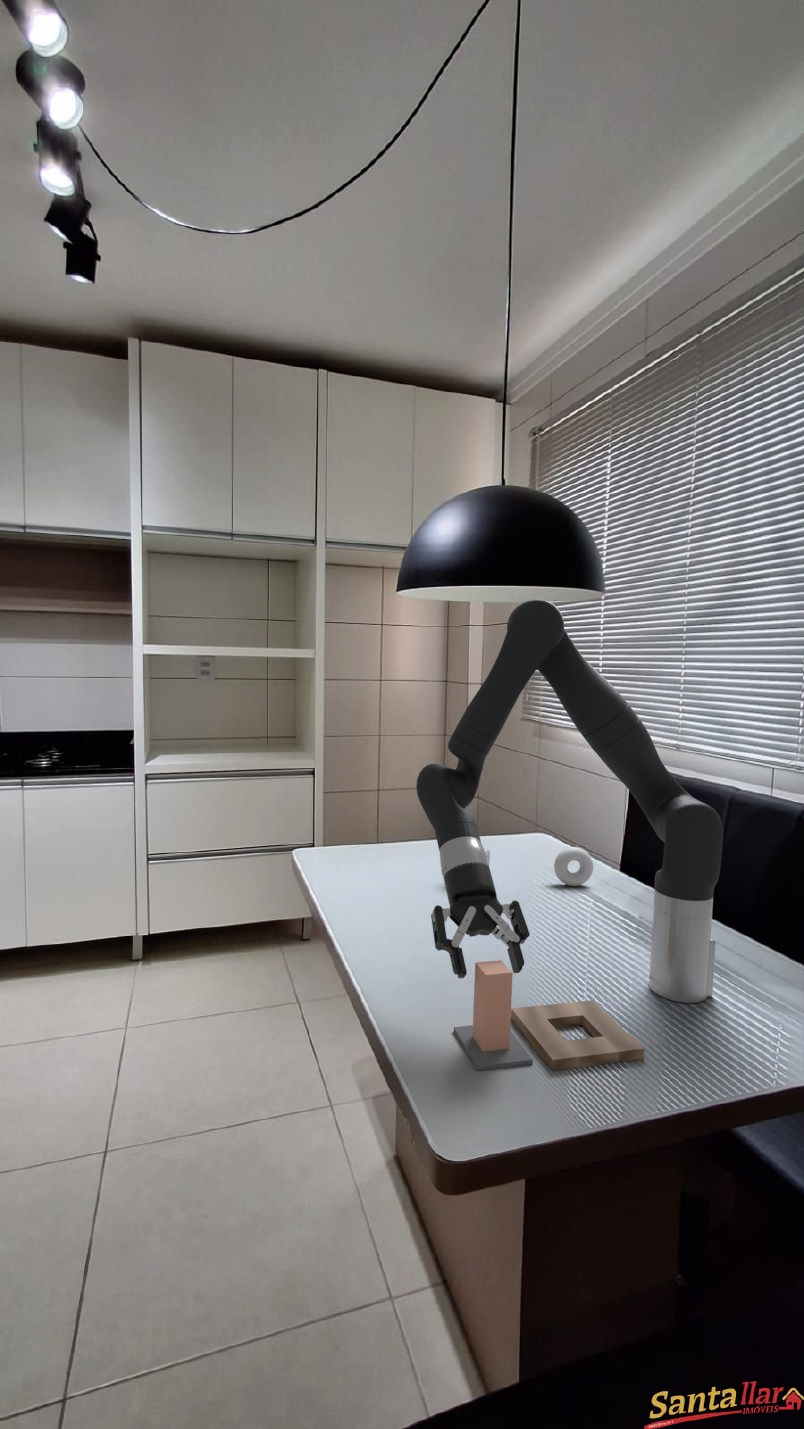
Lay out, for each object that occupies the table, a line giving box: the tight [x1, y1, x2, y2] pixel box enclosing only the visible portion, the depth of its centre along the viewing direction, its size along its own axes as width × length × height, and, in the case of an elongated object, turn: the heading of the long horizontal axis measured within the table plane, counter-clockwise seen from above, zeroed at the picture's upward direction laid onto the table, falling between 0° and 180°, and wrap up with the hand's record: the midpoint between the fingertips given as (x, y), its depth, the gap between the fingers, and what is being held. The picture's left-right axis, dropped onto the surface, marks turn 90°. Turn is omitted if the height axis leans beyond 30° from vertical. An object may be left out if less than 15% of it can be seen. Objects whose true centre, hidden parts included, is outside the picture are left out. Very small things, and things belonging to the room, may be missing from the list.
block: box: [472, 959, 514, 1052], centre depth 95 cm, size 4×4×11 cm
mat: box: [453, 1024, 534, 1072], centre depth 95 cm, size 8×10×1 cm
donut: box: [553, 846, 594, 887], centre depth 170 cm, size 10×3×10 cm, turn 92°
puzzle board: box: [511, 999, 645, 1072], centre depth 98 cm, size 14×14×2 cm
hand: (491, 973), depth 96 cm, fingers open, 8 cm apart
